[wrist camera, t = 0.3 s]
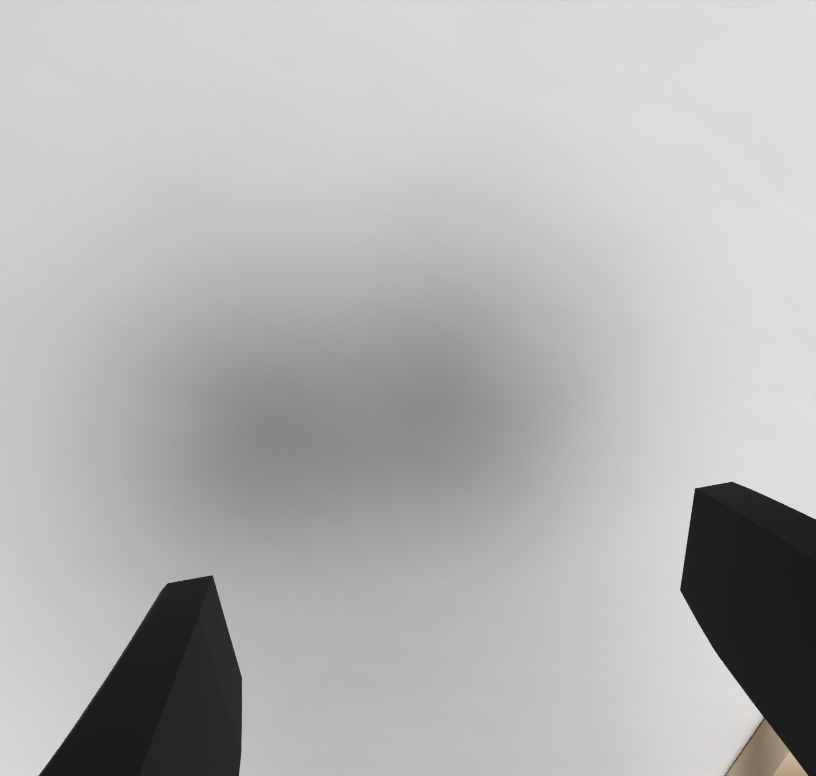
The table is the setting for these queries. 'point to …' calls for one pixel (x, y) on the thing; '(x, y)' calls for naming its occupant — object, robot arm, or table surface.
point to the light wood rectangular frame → (766, 756)
